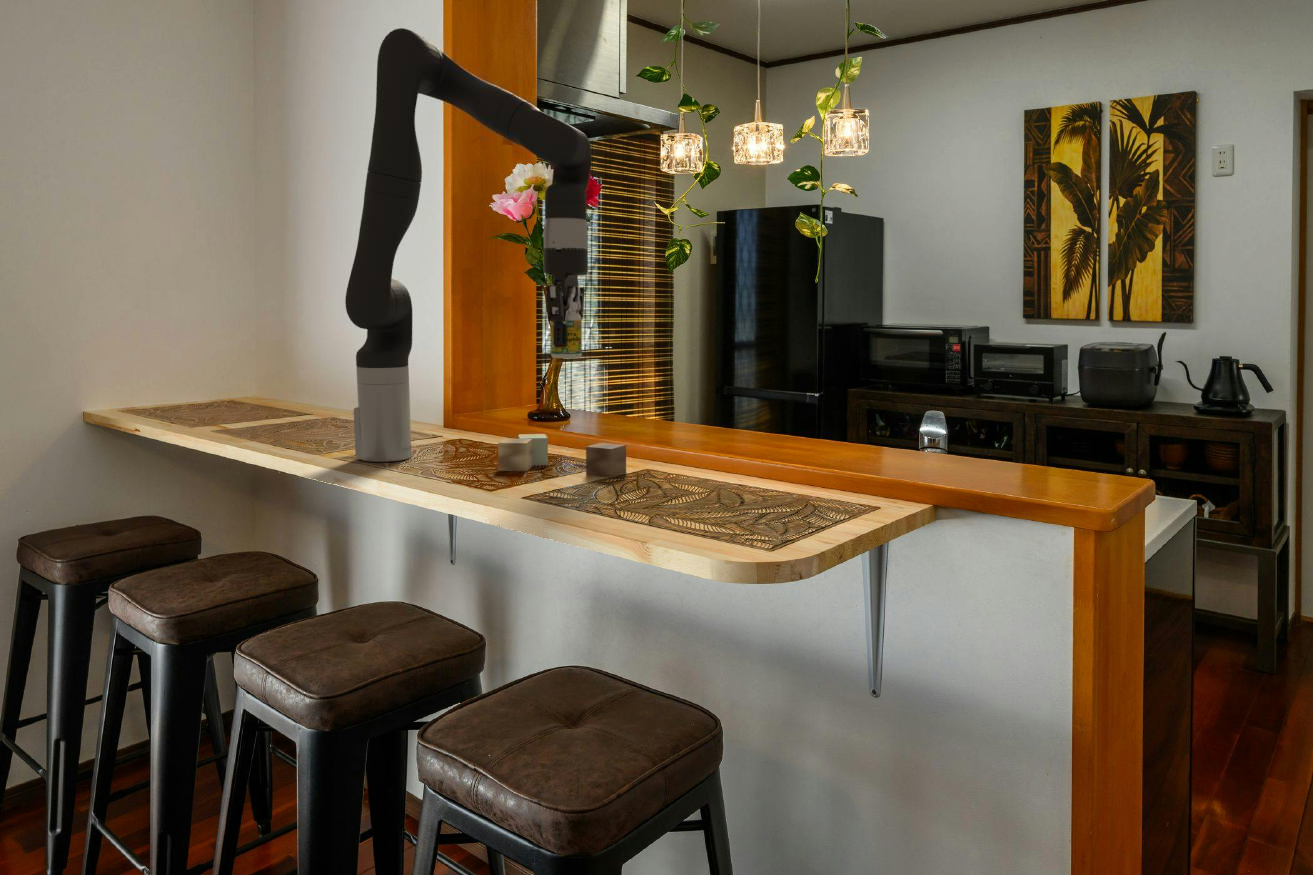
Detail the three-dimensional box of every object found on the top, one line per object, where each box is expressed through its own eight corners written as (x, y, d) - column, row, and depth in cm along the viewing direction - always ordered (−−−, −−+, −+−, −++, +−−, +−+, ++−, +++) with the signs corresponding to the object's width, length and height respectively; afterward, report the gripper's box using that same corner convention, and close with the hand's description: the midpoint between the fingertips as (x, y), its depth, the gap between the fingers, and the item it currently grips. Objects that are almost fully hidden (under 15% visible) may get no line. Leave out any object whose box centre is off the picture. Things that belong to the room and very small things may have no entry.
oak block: (498, 471, 158) (498, 442, 157) (504, 465, 163) (504, 438, 162) (526, 471, 158) (526, 443, 157) (532, 466, 163) (531, 438, 162)
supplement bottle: (572, 356, 161) (572, 301, 159) (587, 358, 156) (587, 302, 155) (545, 357, 158) (545, 301, 156) (559, 358, 153) (559, 301, 152)
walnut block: (586, 475, 154) (586, 446, 154) (601, 470, 159) (601, 442, 158) (611, 478, 152) (611, 449, 151) (626, 473, 156) (626, 444, 156)
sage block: (520, 466, 163) (519, 438, 162) (518, 461, 168) (518, 434, 167) (547, 465, 164) (547, 437, 163) (545, 460, 169) (545, 433, 168)
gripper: (558, 249, 162) (559, 344, 165) (529, 244, 148) (530, 347, 151) (598, 249, 160) (598, 345, 163) (573, 244, 147) (573, 349, 149)
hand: (566, 345), depth 157 cm, fingers closed on supplement bottle, 5 cm apart
